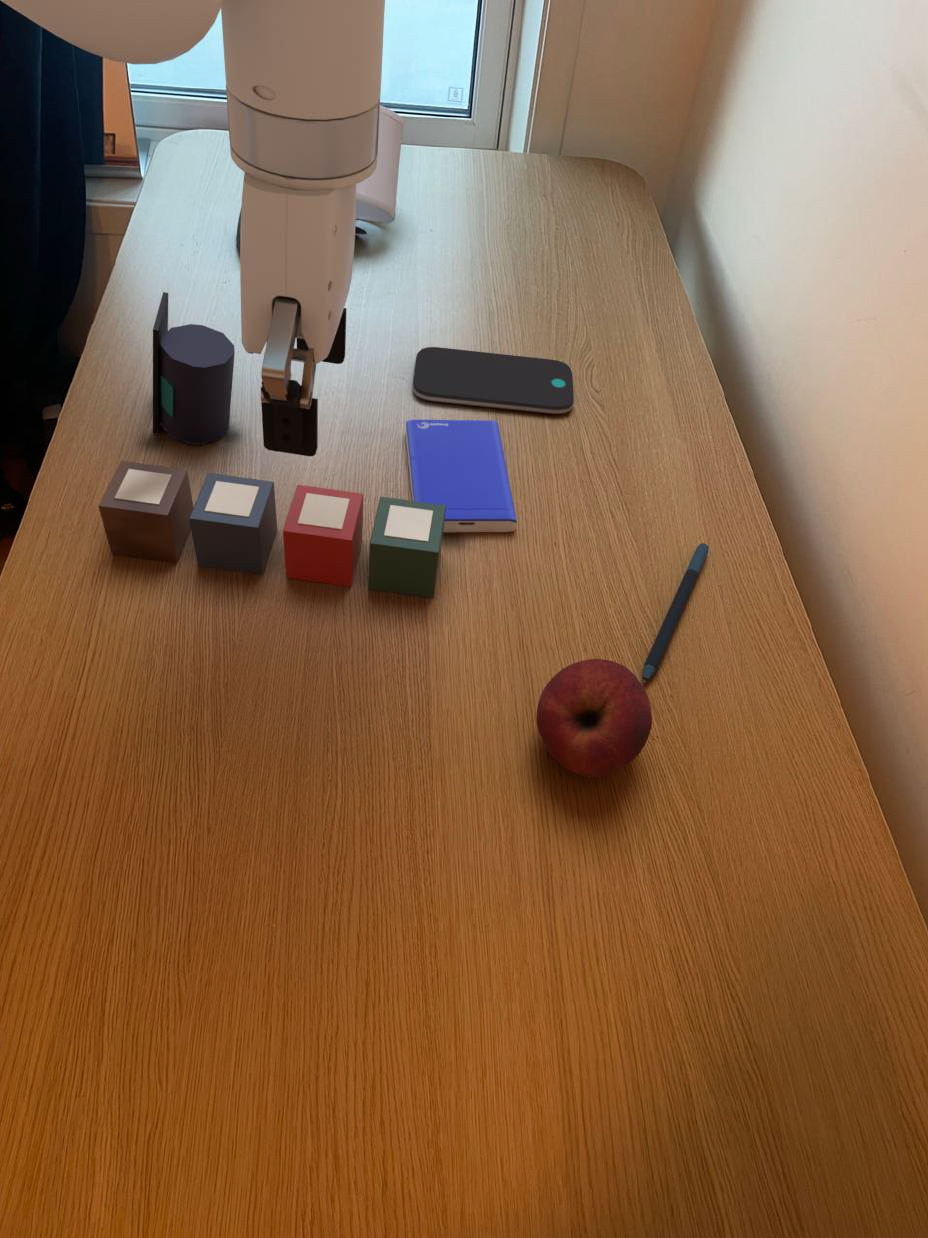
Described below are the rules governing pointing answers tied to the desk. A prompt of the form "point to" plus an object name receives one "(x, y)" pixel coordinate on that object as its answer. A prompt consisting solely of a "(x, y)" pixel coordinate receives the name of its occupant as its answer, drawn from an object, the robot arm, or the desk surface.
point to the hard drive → (461, 473)
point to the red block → (323, 535)
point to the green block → (406, 547)
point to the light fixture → (377, 176)
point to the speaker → (191, 380)
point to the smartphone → (493, 380)
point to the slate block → (234, 523)
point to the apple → (594, 717)
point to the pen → (674, 612)
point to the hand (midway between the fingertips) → (306, 402)
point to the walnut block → (147, 511)
